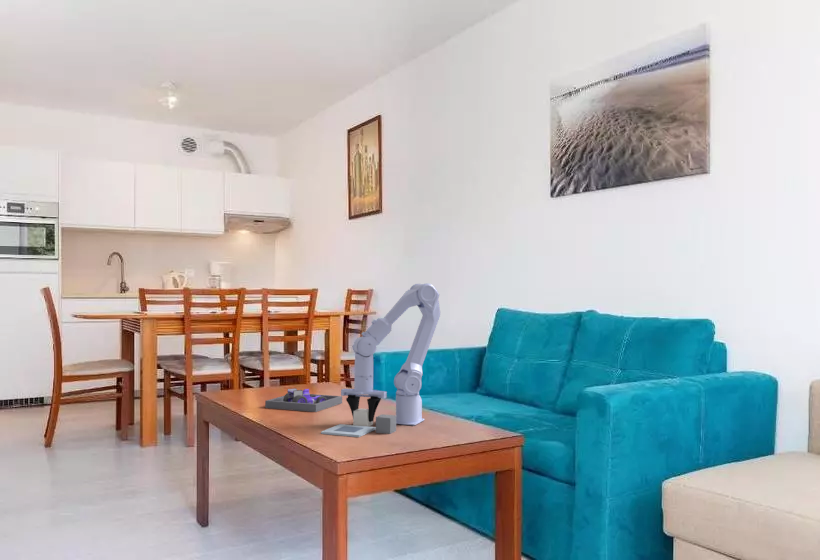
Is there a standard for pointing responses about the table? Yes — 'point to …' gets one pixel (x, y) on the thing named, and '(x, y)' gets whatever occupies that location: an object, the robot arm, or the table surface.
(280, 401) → the car parking frame
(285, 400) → the toy race car
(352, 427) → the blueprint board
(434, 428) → the table surface
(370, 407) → the robot arm
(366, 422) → the cream block
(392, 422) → the charcoal block
